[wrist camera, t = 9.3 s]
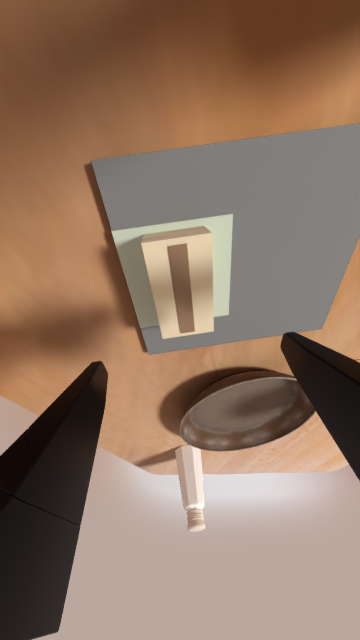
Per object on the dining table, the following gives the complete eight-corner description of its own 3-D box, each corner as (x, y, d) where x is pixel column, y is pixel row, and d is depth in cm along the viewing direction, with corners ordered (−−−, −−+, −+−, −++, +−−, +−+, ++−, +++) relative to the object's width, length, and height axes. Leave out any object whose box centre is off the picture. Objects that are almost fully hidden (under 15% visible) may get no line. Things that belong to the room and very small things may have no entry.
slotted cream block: (207, 313, 19) (214, 332, 16) (162, 320, 19) (162, 339, 16) (203, 225, 14) (212, 233, 12) (143, 234, 14) (141, 243, 12)
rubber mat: (398, 119, 12) (411, 115, 12) (318, 325, 22) (322, 329, 22) (93, 161, 12) (90, 160, 12) (148, 351, 22) (148, 355, 21)
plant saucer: (307, 412, 35) (320, 431, 32) (203, 443, 38) (206, 463, 35) (302, 335, 23) (321, 355, 21) (153, 390, 27) (153, 413, 24)
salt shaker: (204, 444, 38) (219, 524, 29) (196, 455, 40) (207, 532, 31) (178, 443, 36) (185, 527, 27) (171, 455, 39) (175, 535, 30)
